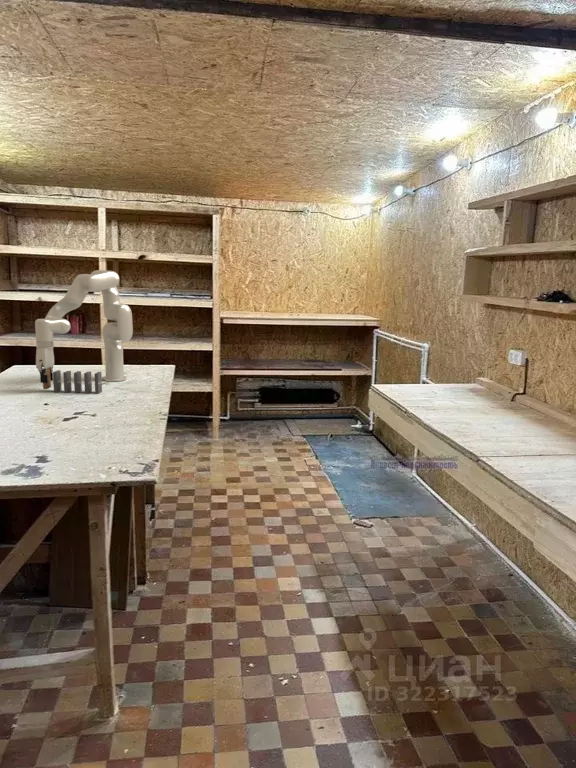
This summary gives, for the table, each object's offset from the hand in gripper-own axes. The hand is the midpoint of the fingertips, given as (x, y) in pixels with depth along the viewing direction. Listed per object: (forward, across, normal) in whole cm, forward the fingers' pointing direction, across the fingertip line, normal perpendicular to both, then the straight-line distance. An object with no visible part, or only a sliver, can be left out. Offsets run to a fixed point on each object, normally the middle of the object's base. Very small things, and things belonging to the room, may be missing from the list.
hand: (46, 381), depth 250 cm
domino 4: (+5, 0, +15) cm, 16 cm away
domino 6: (+5, 0, +25) cm, 26 cm away
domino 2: (+5, 0, +5) cm, 7 cm away
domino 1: (+4, 0, 0) cm, 4 cm away
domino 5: (+5, 0, +20) cm, 21 cm away
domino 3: (+5, 0, +10) cm, 11 cm away
